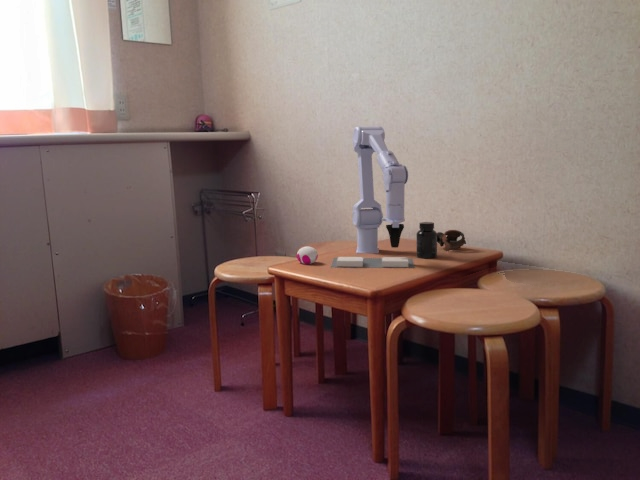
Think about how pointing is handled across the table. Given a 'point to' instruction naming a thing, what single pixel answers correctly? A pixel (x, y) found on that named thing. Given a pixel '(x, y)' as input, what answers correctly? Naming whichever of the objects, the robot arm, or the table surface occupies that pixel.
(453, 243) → the brown curved piece
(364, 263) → the mat
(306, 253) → the stress ball
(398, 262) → the tile
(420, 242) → the supplement bottle
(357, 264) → the tile
